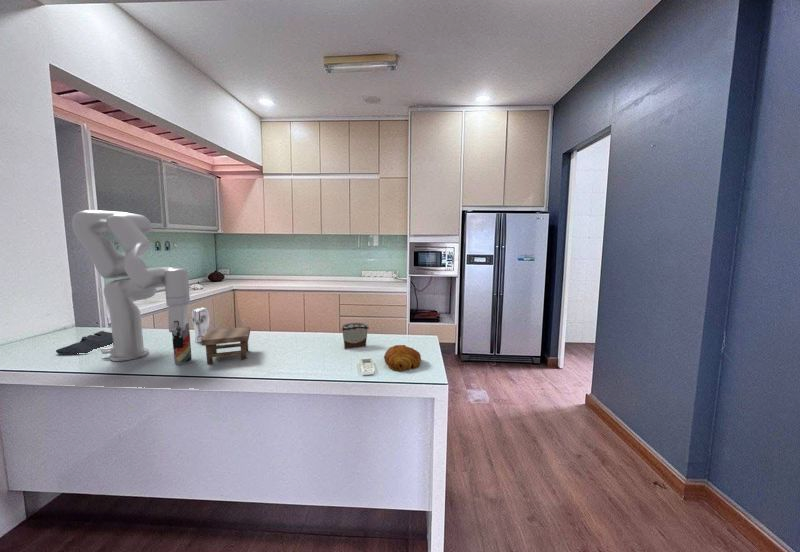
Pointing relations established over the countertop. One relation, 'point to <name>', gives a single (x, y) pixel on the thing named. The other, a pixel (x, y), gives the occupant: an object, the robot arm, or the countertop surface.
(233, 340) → the walnut stool
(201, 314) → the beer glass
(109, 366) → the countertop surface
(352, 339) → the food container
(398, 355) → the croissant
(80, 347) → the dark slate chunk
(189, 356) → the lotion bottle
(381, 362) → the countertop surface
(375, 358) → the countertop surface
